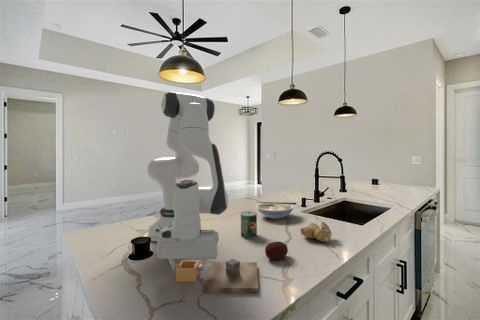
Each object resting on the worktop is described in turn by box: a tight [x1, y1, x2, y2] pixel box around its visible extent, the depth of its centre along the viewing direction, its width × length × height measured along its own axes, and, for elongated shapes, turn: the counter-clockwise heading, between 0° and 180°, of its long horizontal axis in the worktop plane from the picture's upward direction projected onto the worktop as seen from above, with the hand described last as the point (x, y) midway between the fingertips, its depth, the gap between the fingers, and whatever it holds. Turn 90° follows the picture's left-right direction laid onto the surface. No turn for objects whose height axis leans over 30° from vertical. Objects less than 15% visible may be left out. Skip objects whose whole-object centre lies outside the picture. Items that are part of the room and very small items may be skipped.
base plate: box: [203, 258, 259, 294], centre depth 78 cm, size 16×16×6 cm
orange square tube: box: [175, 259, 201, 283], centre depth 79 cm, size 6×6×4 cm
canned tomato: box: [240, 210, 258, 240], centre depth 116 cm, size 8×8×11 cm
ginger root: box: [299, 221, 333, 243], centre depth 111 cm, size 16×16×8 cm
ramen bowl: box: [256, 201, 297, 220], centre depth 147 cm, size 25×23×8 cm
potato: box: [264, 240, 289, 261], centre depth 92 cm, size 7×10×6 cm
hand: (188, 270), depth 79 cm, fingers open, 7 cm apart
